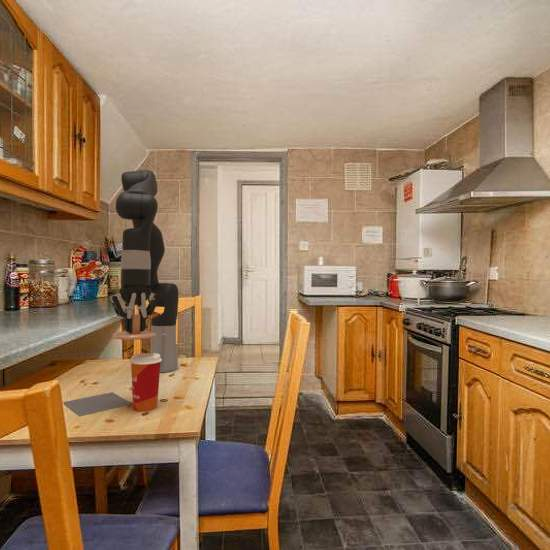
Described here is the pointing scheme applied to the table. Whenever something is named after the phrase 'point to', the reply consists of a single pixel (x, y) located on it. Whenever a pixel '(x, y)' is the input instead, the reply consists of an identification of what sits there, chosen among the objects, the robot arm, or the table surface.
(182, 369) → the table surface
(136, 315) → the lid
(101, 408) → the mat
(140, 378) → the coffee cup
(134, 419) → the table surface
